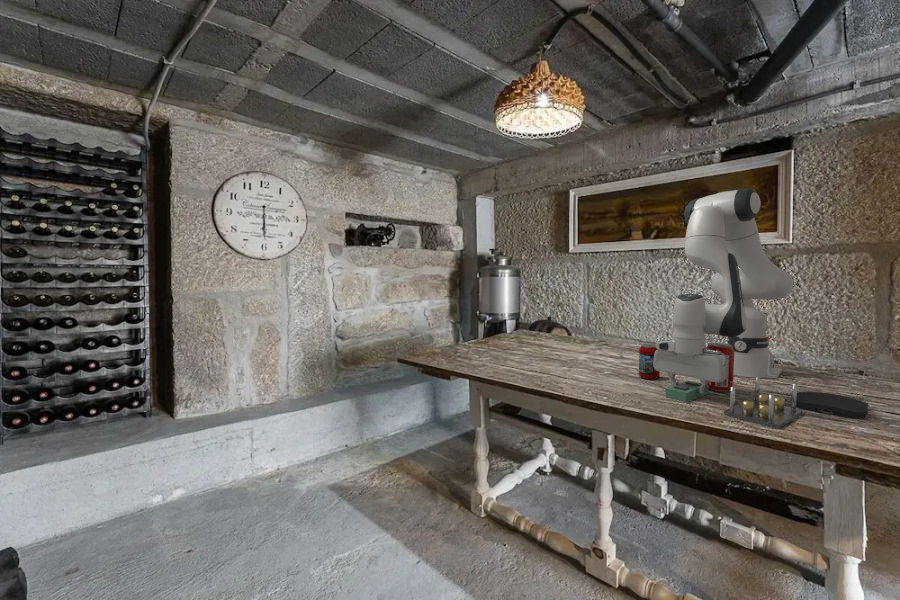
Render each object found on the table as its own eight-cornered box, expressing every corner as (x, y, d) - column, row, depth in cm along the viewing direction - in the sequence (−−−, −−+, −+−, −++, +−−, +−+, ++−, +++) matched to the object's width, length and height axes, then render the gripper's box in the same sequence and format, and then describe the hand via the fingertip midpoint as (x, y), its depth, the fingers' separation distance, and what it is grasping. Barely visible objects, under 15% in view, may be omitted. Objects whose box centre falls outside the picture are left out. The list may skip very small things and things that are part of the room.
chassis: (750, 402, 117) (751, 375, 117) (802, 414, 107) (804, 385, 107) (723, 414, 107) (724, 385, 107) (778, 429, 98) (779, 397, 97)
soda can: (718, 394, 125) (719, 347, 124) (698, 387, 133) (699, 342, 132) (739, 392, 127) (740, 345, 126) (718, 385, 134) (719, 341, 133)
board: (688, 389, 131) (688, 378, 131) (708, 394, 126) (708, 383, 126) (665, 397, 123) (665, 386, 123) (685, 402, 118) (686, 391, 118)
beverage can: (634, 376, 147) (635, 344, 146) (649, 374, 149) (649, 343, 148) (648, 381, 141) (649, 347, 140) (663, 379, 143) (664, 346, 142)
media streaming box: (799, 397, 122) (800, 387, 122) (868, 409, 111) (869, 398, 111) (790, 408, 113) (791, 398, 112) (865, 422, 102) (865, 411, 101)
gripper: (731, 350, 116) (729, 396, 117) (661, 340, 133) (660, 381, 134) (721, 353, 113) (719, 400, 114) (651, 343, 130) (650, 384, 131)
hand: (687, 390), depth 124 cm, fingers closed on board, 6 cm apart
